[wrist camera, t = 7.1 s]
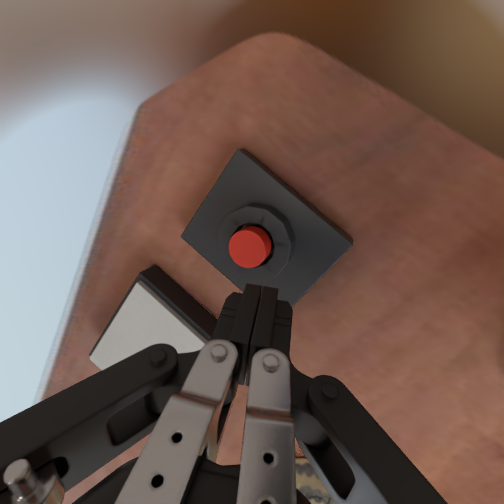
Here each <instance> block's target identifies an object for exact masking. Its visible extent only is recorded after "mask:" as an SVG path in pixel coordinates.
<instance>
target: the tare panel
mask: <svg viewBox="0 0 504 504" xmlns="http://www.w3.org/2000/svg"><path fill="white" fill-rule="evenodd" d="M248 226H256V227H259V228H261V229H263V230H264V231H265V232H266V233H267V234H268V236H269V238H270V240H271V251H270V254H269V255H268V257H267V258H266V259H265V260H264V261H263V262H262V263H261V264H260V265H258V266H256V267H254V268H244V267H242V266H239V265H238V264H237V263H235V262H234V260H233V259H232V258H231V256H230V253H229V242H230V239H231V237H232V236H233V235H234V234H235V233H236V232H238V231H240V230H242V229H243V228H245V227H248ZM181 238H183V239H184V240H185V241H186V242H187V243H188V244H189V245H191V246H192V247H193V248H194V249H195V250H196V251H197V252H198V253H200V254H201V255H202V256H203V257H204V258H205V259H206V260H208V261H209V262H210V263H211V264H212V265H213V266H214V267H215V268H217V269H218V270H219V271H220V272H221V273H222V274H223V275H225V276H226V277H227V278H228V279H229V280H230V281H231V282H232V283H234V284H235V285H236V286H237V287H238V288H239V289H240V290H242V291H243V292H244V289H245V286H246V283H249V284H255V285H261V286H262V289H263V286H267V287H273V288H279V291H278V297H277V300H283V301H289V303H290V305H291V307H292V306H293V305H294V304H295V303H296V302H297V301H298V300H299V299H300V298H301V297H302V296H303V295H304V294H305V293H306V292H307V291H308V290H309V289H310V288H311V287H312V286H313V285H314V284H315V283H316V282H317V281H318V280H319V279H320V278H321V277H322V276H323V275H324V274H325V273H326V272H327V271H328V270H329V269H330V268H331V267H332V266H333V265H334V264H335V263H336V262H337V261H338V260H339V259H340V258H341V257H342V256H343V255H344V254H345V253H346V252H347V251H348V250H349V249H350V248H351V247H352V246H353V239H352V238H350V237H349V236H348V235H347V234H346V233H344V232H343V231H342V230H341V229H340V228H338V227H337V226H336V225H335V224H334V223H332V222H331V221H330V220H329V219H328V218H326V217H325V216H324V215H323V214H322V213H320V212H319V211H318V210H317V209H316V208H314V207H313V206H312V205H311V204H310V203H308V202H307V201H306V200H305V199H304V198H302V197H301V196H300V195H299V194H298V193H296V192H295V191H294V190H293V189H292V188H290V187H289V186H288V185H287V184H286V183H284V182H283V181H282V180H281V179H280V178H278V177H277V176H276V175H275V174H274V173H272V172H271V171H270V170H269V169H268V168H267V167H265V166H264V165H263V164H262V163H261V162H259V161H258V160H257V159H256V158H255V157H253V156H252V155H251V154H250V153H249V152H247V151H246V150H245V149H237V151H236V152H235V154H234V155H233V157H232V158H231V160H230V161H229V163H228V165H227V166H226V168H225V169H224V171H223V172H222V174H221V175H220V177H219V178H218V180H217V181H216V183H215V184H214V186H213V188H212V189H211V191H210V192H209V194H208V195H207V197H206V198H205V200H204V201H203V203H202V204H201V206H200V207H199V209H198V210H197V212H196V214H195V215H194V217H193V218H192V220H191V221H190V223H189V224H188V226H187V227H186V229H185V230H184V232H183V233H182V235H181ZM261 294H262V292H261Z"/></svg>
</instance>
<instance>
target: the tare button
mask: <svg viewBox="0 0 504 504" xmlns="http://www.w3.org/2000/svg"><path fill="white" fill-rule="evenodd" d="M270 251H271V240H270V238H269V236H268V234H267V233H266V232H265V231H264V230H263V229H261V228H259V227H256V226H248V227H245V228H243V229H242V230H240V231H238V232H236V233H235V234H234V235H233V236H232V237H231V239H230V242H229V253H230V256H231V258H232V259H233V260H234V262H235V263H237V264H238V265H239V266H242V267H244V268H254V267H256V266H258V265H260V264H261V263H262V262H263V261H264V260H265V259H266V258H267V257H268V255H269V254H270Z"/></svg>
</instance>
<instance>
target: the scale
mask: <svg viewBox="0 0 504 504" xmlns="http://www.w3.org/2000/svg"><path fill="white" fill-rule="evenodd" d="M217 321H218V320H216V319H215V318H214V317H213V316H212V315H211V314H210V313H209V312H208V311H206V310H205V309H204V308H203V307H202V306H201V305H200V304H199V303H198V302H196V301H195V300H194V299H193V298H192V297H191V296H190V295H189V294H188V293H186V292H185V291H184V290H183V289H182V288H181V287H180V286H179V285H178V284H176V283H175V282H174V281H173V280H172V279H171V278H170V277H169V276H167V275H166V274H165V273H164V272H163V271H162V270H161V269H160V268H159V267H157V266H156V265H154V266H152V267H150V268H148V269H146V270H144V271H142V272H140V273H139V275H138V276H137V278H136V279H135V281H134V283H133V284H132V286H131V287H130V289H129V291H128V292H127V294H126V296H125V297H124V299H123V300H122V302H121V304H120V305H119V307H118V308H117V310H116V312H115V313H114V315H113V317H112V318H111V320H110V321H109V323H108V325H107V326H106V328H105V329H104V331H103V333H102V334H101V336H100V338H99V339H98V341H97V342H96V344H95V346H94V347H93V349H92V350H91V352H90V354H89V355H90V358H89V359H90V360H91V361H92V362H93V363H94V364H95V365H96V366H98V367H99V368H100V369H101V370H104V369H106V368H108V367H110V366H112V365H114V364H116V363H118V362H119V361H121V360H123V359H125V358H127V357H129V356H131V355H133V354H135V353H137V352H139V351H141V350H143V349H145V348H147V347H149V346H151V345H154V344H158V343H165V344H169V345H171V346H173V347H174V348H175V349H176V350H177V353H188V352H194V351H198V350H200V349H202V347H203V346H204V345H205V344H206V343H207V342H209V341H210V340H211V337H212V335H213V332H214V329H215V327H216V324H217Z"/></svg>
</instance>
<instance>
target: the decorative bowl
mask: <svg viewBox="0 0 504 504" xmlns="http://www.w3.org/2000/svg"><path fill="white" fill-rule="evenodd" d="M295 463H296V488H297V489H298V490H299V491H300V492H301V493H302V494H303V495H305V496H306V498H307V499H308V500H309V501H310V502H311V504H335V503H334V501H333V500H332V498H331V496H330V495H329V493H328V492H327V490H326V488H325V487H324V485H323V484H322V482H321V480H320V479H319V477H318V476H317V474H316V472H315V471H314V469H313V467H312V466H311V464H310V463H309V461H308V459H307V458H304V457H302V458H301V457H300V458H298V457H297V458H295Z"/></svg>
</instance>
